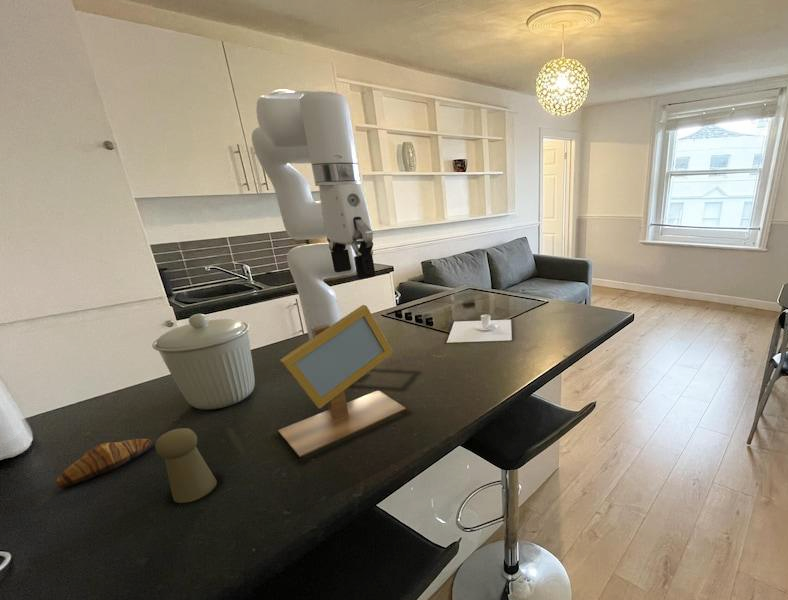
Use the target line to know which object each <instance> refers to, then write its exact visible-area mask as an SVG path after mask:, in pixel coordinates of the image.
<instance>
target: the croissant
mask: <svg viewBox="0 0 788 600" xmlns="http://www.w3.org/2000/svg"><path fill="white" fill-rule="evenodd" d="M152 447H153V442H152V440H151V439H150V438H133V439H126V440H121V441H117V442H105V443H100V444H98V445H96V446H94V447H93V448H90V449H89V450H87V451H85V453H84V454H83V455H82V456H81V457H80V458H79V459H77V460H75V461H74V462H73V463H72V464H71V465H69V466H68V467H67V468H65V469H64V470H63V471H62V472H61V473H60V475H58V477H57V478H56V486H58V487H59V488H61V489H64V488H68V487H71V486H75V485H78V484H82V483H83V482H86V481H89V480H91V479H94V478H96V477H99V476H101V475H103V474H107V473H109V472H111V471H113V470H116V469H118V468H119V467H121V466H123V465H125V464H127V463H128V462H130V461H132V460H134V459H136V458H137V457H140V456H141V455H143V454H144V453H146V452H147V451H149V450H150V449H151V448H152Z"/></svg>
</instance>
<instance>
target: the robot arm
mask: <svg viewBox="0 0 788 600" xmlns="http://www.w3.org/2000/svg"><path fill="white" fill-rule="evenodd" d="M255 110H256V118H257V123H258V126H259V127H256V128H255V129H253V130H252V132H251V133H252V134H251V142H252V147H253V150H254V153H255V156H256V158H257V160H258V163H259V164H260V166H261V168H262V170H263V171H264V173H265V174H266V177H268V179H269V181H270V183H271V185H272V186H273V189H274V192H275V196H276V197H275V198H276V200H277V205H278V208H279V212H280V215H281V219H282V223H283V227H284V229H285V232H286V233H287V235H288V237H290V238H291V239H293V240H296V241H303V240H315V239H324V238H325V239H326V241H327V242H318V243H310V244H302V245H297V246H295V247H293V248H291V249H289V251H288V252H287V254H286V262H287V266H288V269H289V271H290V274H291V276H292V279H293V281H294V284H295V287H296V290H297V293H298V297H299V302H300V305H301V306H300V307H301V310H302V315H303V319H304V323H305V327H306V332H307V337H308V341H309V340H311V339H312V338H313V335H312V331H311V328H314V327H317V326H321V325H325V324H327V325H329V326H332V325H333V324H335V323H336V322H338V321H339V320H341V319H342V316H341V312H340V305H339V302H338V296H337V293H336V292H335V290H334V289H333V288H332V287H331V286H330V285H329V284H327V283H326V282H324V280H327V279H331V278H337V277H344V276H349V275H352V274H354V273H355V272H356V275H357V276H356V277H357V279H358V280H364V279H369V278H374V277H375V276H376V270H375V263H374V257H373V254H374V250H373V247H374V242H373V240H374V232H373V227H372V220H371V217H370V211H369V208H368V202H367V199H366V196H365V193H364V189H363V186H362V181H361V174H360V168H359V164H358V163H359V162H358V154H357V149H356V143H355V135H354V131H353V123H352V118H351V111H350V106H349V102H348V101H347V98H346V97H344V96H343V95H342V94H340V93H337V92H333V91H320V90H319V91H311V90H309V91H308V90H297V89H296V90H294V89H276V90H274V91H272V92H270V93H269V94H263V95H260V96H259V97H258V98H257V101H256V109H255ZM291 164H310V165H311V171H312V176H313V179H314V180H313V181H314V185H315V187H318V189H319V190H318V191H319V199H320V200H319V201H318V200H317V201H315V199H314V198H313V194H312V190H311V186H310V183H309V181H308V180H307V179H306V177H305V176H304V175H303V174H302V173H301V172H300V171H299V170H298V169H296V168H295V167H294V166H292V165H291Z"/></svg>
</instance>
